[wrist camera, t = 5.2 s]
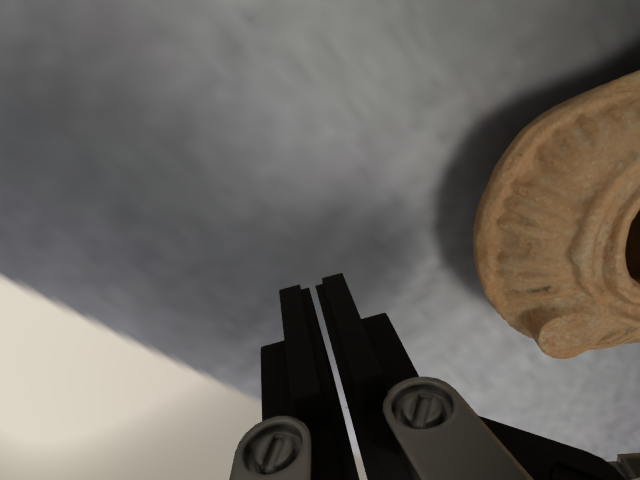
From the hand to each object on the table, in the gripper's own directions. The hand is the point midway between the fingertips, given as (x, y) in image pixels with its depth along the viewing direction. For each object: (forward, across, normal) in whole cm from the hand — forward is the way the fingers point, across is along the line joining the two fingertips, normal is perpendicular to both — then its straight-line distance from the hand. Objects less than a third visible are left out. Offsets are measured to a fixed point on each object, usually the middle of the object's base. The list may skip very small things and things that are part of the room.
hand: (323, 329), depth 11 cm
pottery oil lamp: (+5, -11, 0) cm, 12 cm away
